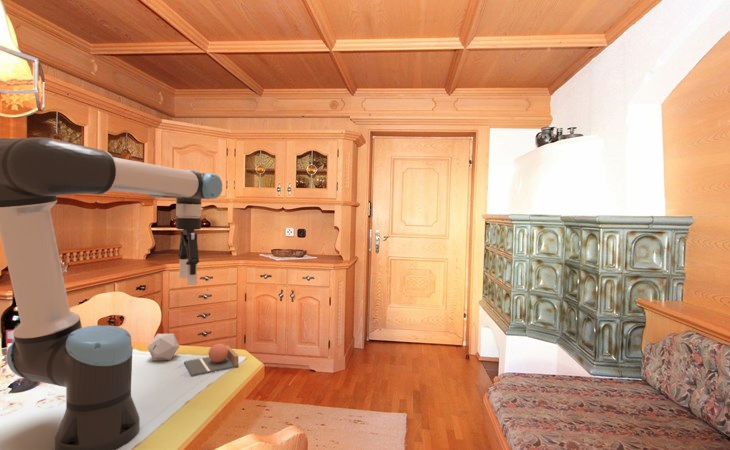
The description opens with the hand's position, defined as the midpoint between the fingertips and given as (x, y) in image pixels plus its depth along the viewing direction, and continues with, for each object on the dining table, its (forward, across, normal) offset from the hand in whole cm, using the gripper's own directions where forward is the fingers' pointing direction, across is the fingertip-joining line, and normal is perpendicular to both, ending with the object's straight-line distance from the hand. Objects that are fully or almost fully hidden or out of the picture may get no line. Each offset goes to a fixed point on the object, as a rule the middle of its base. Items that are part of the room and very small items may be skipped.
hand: (187, 281), depth 125 cm
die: (+27, +6, +6) cm, 28 cm away
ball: (+26, -8, -8) cm, 29 cm away
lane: (+27, -8, -6) cm, 29 cm away
